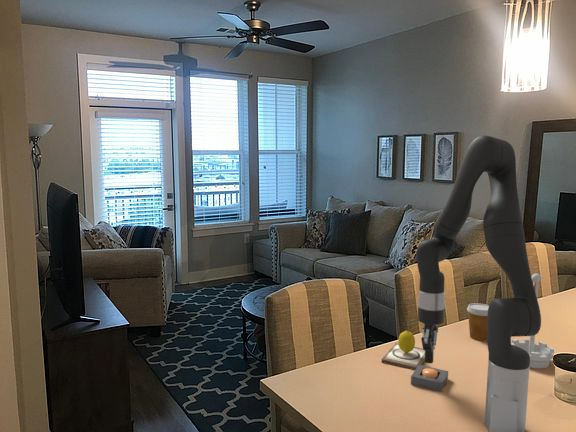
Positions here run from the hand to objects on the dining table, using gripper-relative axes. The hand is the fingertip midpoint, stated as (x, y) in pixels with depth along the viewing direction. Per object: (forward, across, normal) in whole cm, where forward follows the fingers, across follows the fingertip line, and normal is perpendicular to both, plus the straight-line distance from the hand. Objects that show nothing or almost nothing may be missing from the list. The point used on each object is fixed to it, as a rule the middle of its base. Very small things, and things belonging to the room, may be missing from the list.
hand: (428, 362), depth 141 cm
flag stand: (+6, +32, -27) cm, 43 cm away
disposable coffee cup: (+6, +47, -10) cm, 48 cm away
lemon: (+5, +16, +10) cm, 19 cm away
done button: (+6, +1, 0) cm, 6 cm away
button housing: (+6, +1, 0) cm, 6 cm away
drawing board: (+6, +15, +10) cm, 19 cm away
